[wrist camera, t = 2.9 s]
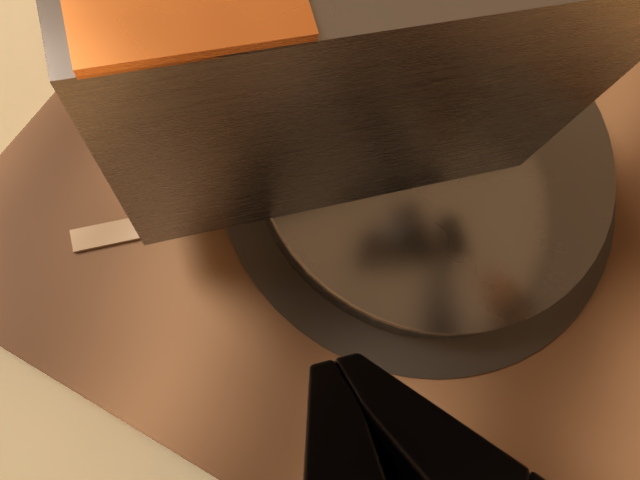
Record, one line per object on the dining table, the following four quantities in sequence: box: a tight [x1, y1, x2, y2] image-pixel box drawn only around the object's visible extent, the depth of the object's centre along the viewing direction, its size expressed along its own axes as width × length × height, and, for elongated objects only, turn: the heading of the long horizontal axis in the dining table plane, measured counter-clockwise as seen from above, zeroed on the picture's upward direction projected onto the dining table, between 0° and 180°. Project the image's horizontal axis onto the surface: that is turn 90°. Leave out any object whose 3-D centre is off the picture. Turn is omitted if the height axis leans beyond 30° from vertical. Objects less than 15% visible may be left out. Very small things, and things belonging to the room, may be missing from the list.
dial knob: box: [36, 0, 640, 339], centre depth 12 cm, size 13×10×8 cm
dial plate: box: [0, 62, 640, 480], centre depth 17 cm, size 20×20×2 cm
